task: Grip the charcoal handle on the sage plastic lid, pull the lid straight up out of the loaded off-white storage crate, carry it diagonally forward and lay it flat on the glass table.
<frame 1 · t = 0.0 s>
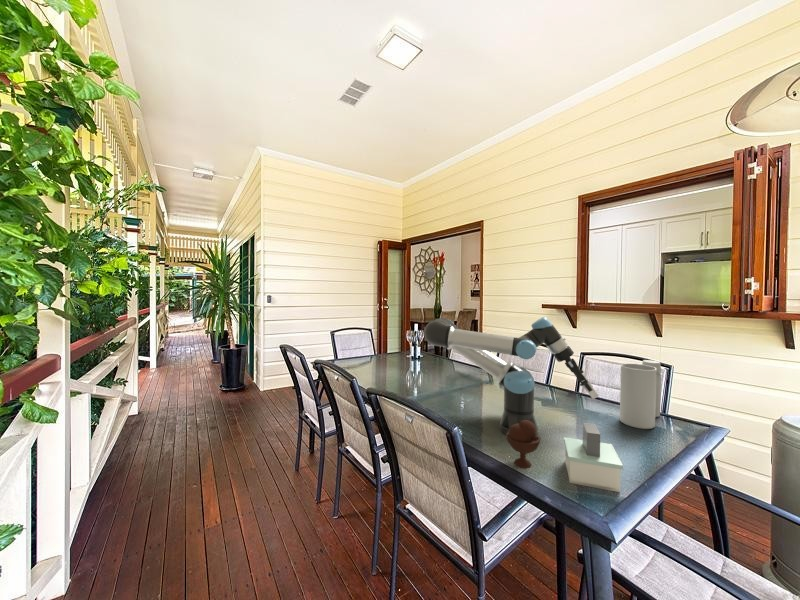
hand: (592, 392, 139), 15 cm above the table, tool tilted 35°, fingers open, 13 cm apart
crate: (590, 475, 104), on the table
cylinder vase: (636, 424, 144), on the table
lid: (590, 453, 104), point 7 cm above the table, touching crate
water bottle: (648, 415, 154), on the table
ice cream bowl: (522, 464, 111), on the table
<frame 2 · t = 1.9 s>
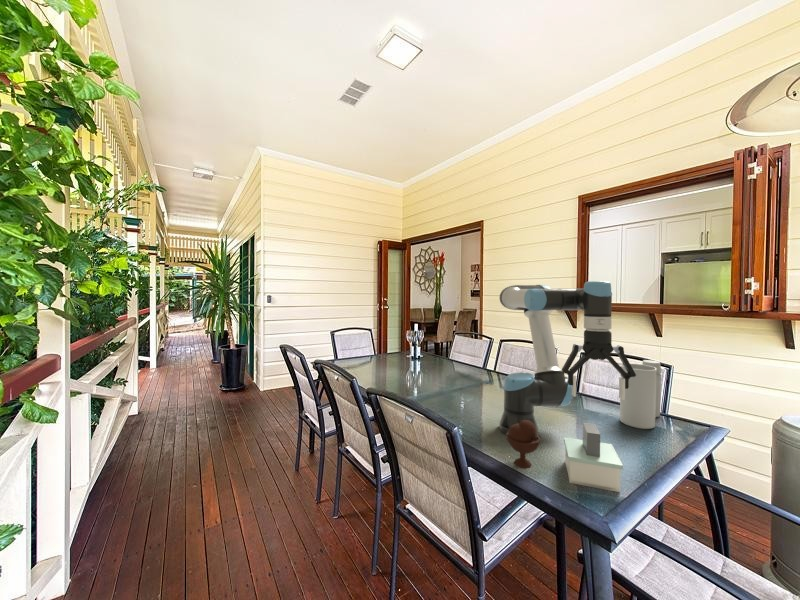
hand: (597, 397, 105), 25 cm above the table, tool pointing down, fingers open, 13 cm apart
nothing on the table moved.
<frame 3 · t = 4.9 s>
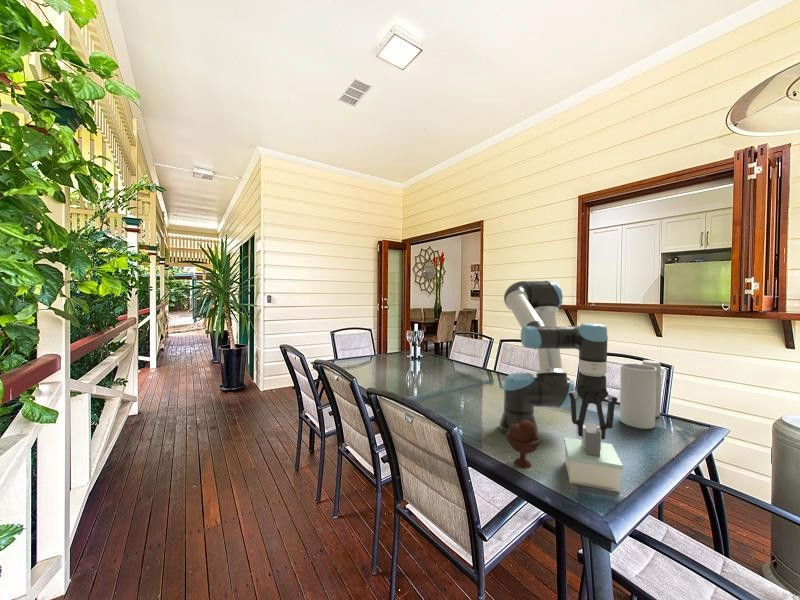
hand: (590, 447, 104), 9 cm above the table, tool pointing down, fingers closed on lid, 3 cm apart
lid: (590, 453, 104), point 7 cm above the table, touching crate, gripper
everything else where it was.
when the fingers open (4 cm above the table, at t = 11.2 s): lid drops 2 cm, point 1 cm above the table.
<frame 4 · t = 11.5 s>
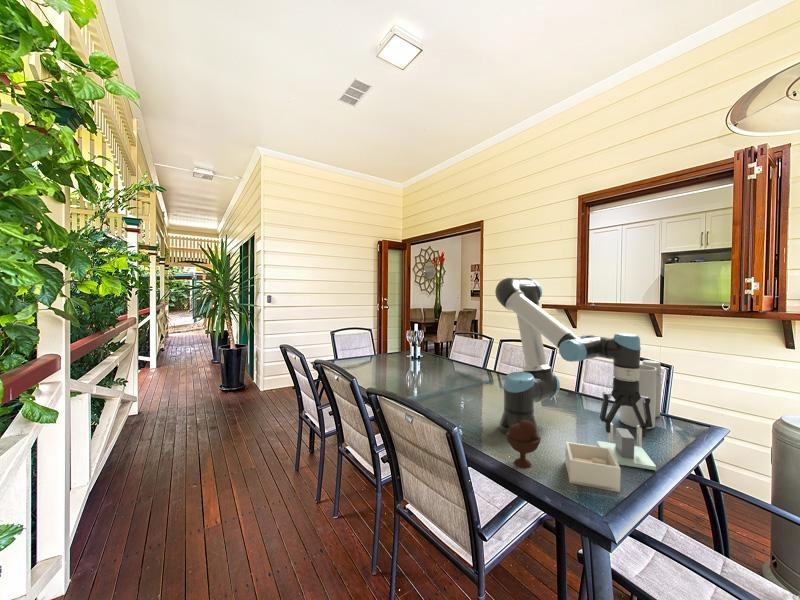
hand: (624, 443, 115), 5 cm above the table, tool pointing down, fingers open, 8 cm apart
lid: (624, 456, 115), point 1 cm above the table
everything else where it was.
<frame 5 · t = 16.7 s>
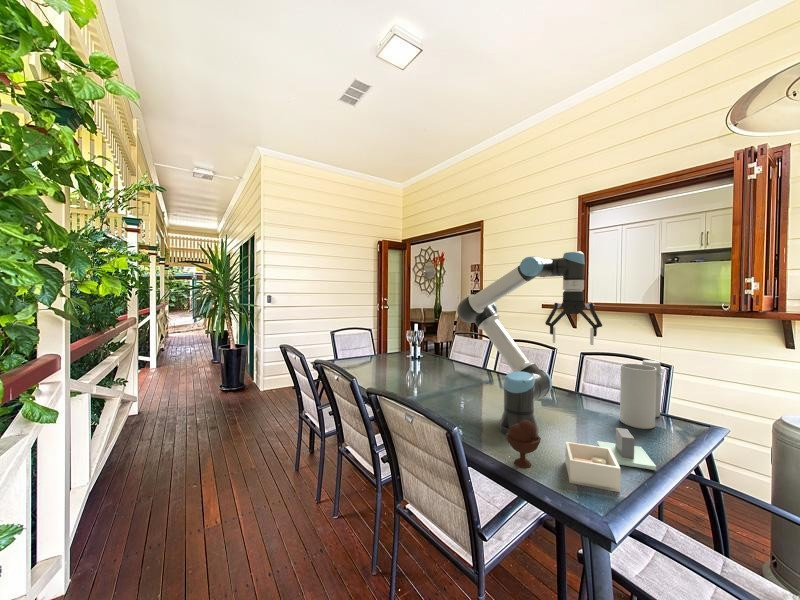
hand: (572, 343, 133), 37 cm above the table, tool pointing down, fingers open, 13 cm apart
nothing on the table moved.
at the end: lid inside the target area (0.0 cm from its centre), point 0.5 cm above the table; lid tilted 0°; lid touching table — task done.
